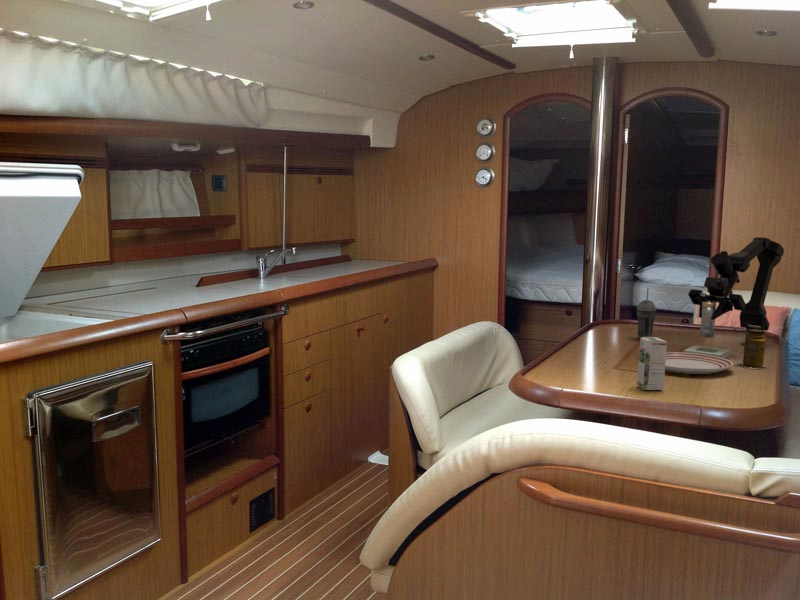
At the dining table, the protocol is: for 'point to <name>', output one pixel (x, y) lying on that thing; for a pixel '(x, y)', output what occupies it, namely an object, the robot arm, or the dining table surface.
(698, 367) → the dinner plate
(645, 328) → the beverage cup
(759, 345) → the condiment
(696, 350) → the white flat square frame
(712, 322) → the jar with gold lid
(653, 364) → the syrup box
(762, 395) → the dining table surface
